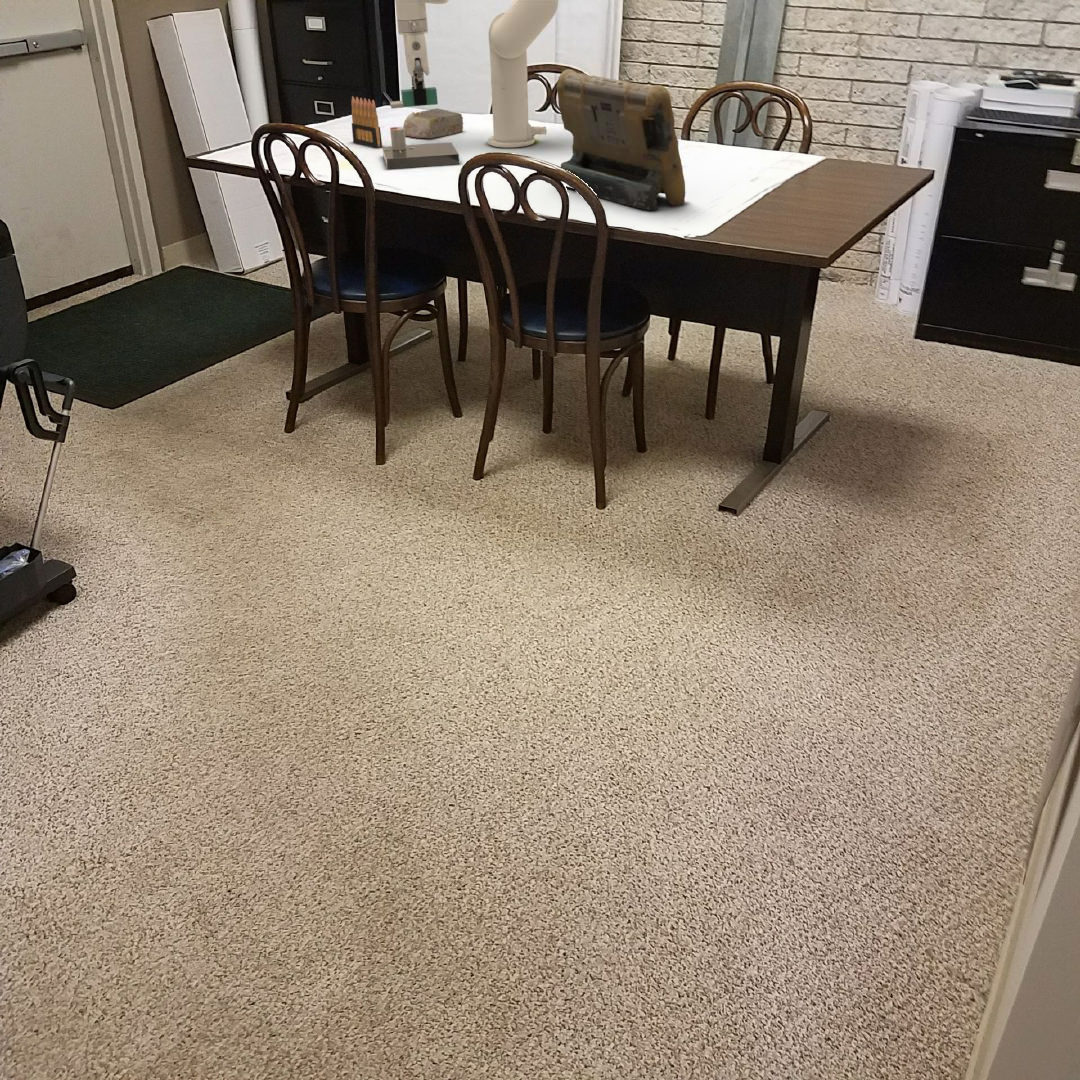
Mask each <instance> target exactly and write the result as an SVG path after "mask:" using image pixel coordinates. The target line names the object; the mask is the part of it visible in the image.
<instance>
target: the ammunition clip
mask: <svg viewBox="0 0 1080 1080" xmlns="http://www.w3.org/2000/svg"><path fill="white" fill-rule="evenodd" d="M351 118H352V123H351V130H352V132H351V133H352V142H353V144H356V145H360V146H366V147H370V148H374V149H379V148H382V147H383V141H382V133H381V126H380V125H379V117H378V112H377V107H376V103H375V100H374V99H372V100H370V98H368V99H367V98H365V97H364V98H362V97H360V98H359V97H358V96H356V97H354V95H352V96H351Z"/></svg>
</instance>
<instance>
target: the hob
mask: <svg viewBox="0 0 1080 1080" xmlns="http://www.w3.org/2000/svg"><path fill="white" fill-rule="evenodd" d="M381 148H382V157H383V160H384V164H385V166H386V168H387V170H395V169H396V170H397V169H399V170H400V169H410V168H425V167H439V166H440V167H441V166H455V165H460V155H459V153H458V151H457V149H456V147H454V145H453V143H452V142H451V141H449V142H438V143H437V142H436V143H424V144H422V143H421V144H406V149H405V150H400V151H396V150H392V145H391V146H382V147H381Z"/></svg>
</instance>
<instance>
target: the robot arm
mask: <svg viewBox="0 0 1080 1080" xmlns="http://www.w3.org/2000/svg"><path fill="white" fill-rule="evenodd" d="M448 2H450V0H394V3H395V13H396V22H397V32H398V35H401V36H403V46H404V54H405V55H404V56H405V61H406V68H407V72H408V74H409V75H410V77H411V89H413V93H414V103H415V105H416V106H415V107H419V106H418V105H424V106H427V105H426V104H427V98H426V88H427V87H426V84H425V76H429V75H430V67H429V58H428V50H427V43H426V41H427V40H426V36H425V34H428V33H429V28H428V27H429V26H428V17H427V5H426V4H433V5H444V4H447V3H448ZM558 5H559V0H514V1H513V2H512V3H511V5H510V6H509V7H508V9H506V11H505V12H502V13H499V14H498V15H496V16H495V17H494V18H493V19H492V21H491V23H490V24H489V28H488V46H489V47H488V48H489V61H490V62H489V63H490V80H491V81H490V84H491V85H490V87H491V107H492V130H493V131H492V132H493V133H492V134H493V135H492V136H490V137H488V138H487V144H488V145H489V146H492V147H497V148H506V149H507V148H508V149H509V148H522V147H529V146H531V145H533V144H534V143H536V139H535V136H537V135H539V136H543V135H547V127H546V126H532V125H531V124H530V123H529V90H528V89H529V88H528V87H529V86H528V85H529V84H528V55H527V50H528V48H529V47H530V46H531V45H532V44H533V42H534V41H535V40H536V39H537V38H538V37H539V35H541V33H542V32H543V31H544V29H545V28H546V27H547V26H548V24H549V23H550V22H551V21H552V19H553V18H554V16H555V15H556V13H557V10H558ZM424 74H425V76H424Z"/></svg>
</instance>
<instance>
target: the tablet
mask: <svg viewBox="0 0 1080 1080" xmlns="http://www.w3.org/2000/svg"><path fill="white" fill-rule="evenodd" d="M556 93H557V97H558V98H557V99H558V100H557V101H558V109H559V112H560V117H561V120H562V123H563V130H564V131H565V130H566V131H568V132H569V133H570V134H571V135H572V147H571V148H572V150H571V151H572V156H571V158H570V159H569V160H566V161H563V162H561V164H560V168H563V169H565V170H568V171H570V172H571V173H573V174H575V175H576V176H578V177H579V178H580V179H582V180H583V181H584V182H585V183H587V184H588V186H589V187H591V188H592V189H593V191H594V192H595V193H596V194H597V196H598V197H597V198H599V199H604V200H607V201H609V202H610V201H611V202H613V203H618V204H623V205H627V206H630V207H633V208H637V209H642V210H649V211H652V212H653V211H655V210H658V208H659V205H658V202H657V199H658V196H659V194H664V197H665V199H666V201H667V202H668V203H670V204H671V205H672V206H673V207H674V206H675V207H679V206H681V205H683V204H685V202H686V201H685V198H686V181H685V177H684V170H683V164H682V159H681V155H680V149H679V140H678V137H677V134H676V129H675V123H676V121H675V120H676V119H675V115H674V111H673V106H672V100H671V95H670V92H669V91H668V89H667V88H666V87H665V86H663V85H661V84H655V85H647V84H640V83H637V82H636V83H634V82H630V81H627V80H621V79H615V78H608V77H601V76H600V77H599V76H598V75H597V76H596V75H590V74H589V75H588V74H586V73H580V72H577V71H575V70H574V69H570V68H569V69H568V68H567V69H565V70H563V71H562V72H561V73H560V74H559V76H558V78H557V83H556ZM566 188H568V189H570V190H572V189H571V188H569V187H566Z"/></svg>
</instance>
